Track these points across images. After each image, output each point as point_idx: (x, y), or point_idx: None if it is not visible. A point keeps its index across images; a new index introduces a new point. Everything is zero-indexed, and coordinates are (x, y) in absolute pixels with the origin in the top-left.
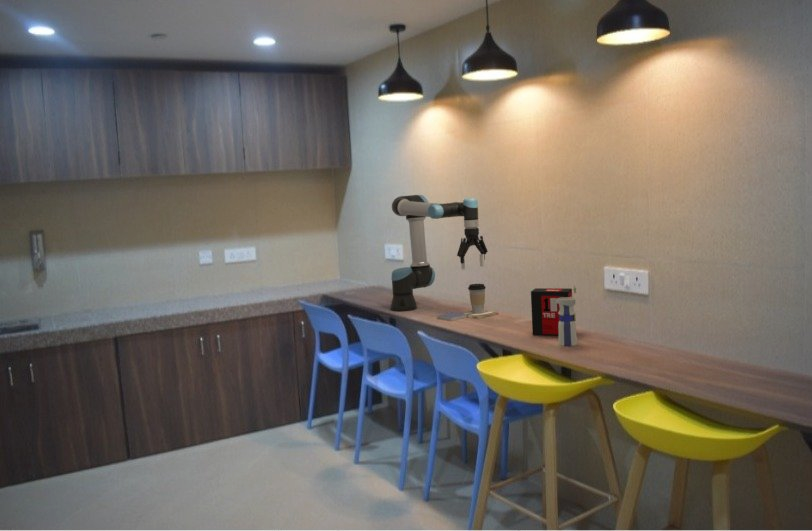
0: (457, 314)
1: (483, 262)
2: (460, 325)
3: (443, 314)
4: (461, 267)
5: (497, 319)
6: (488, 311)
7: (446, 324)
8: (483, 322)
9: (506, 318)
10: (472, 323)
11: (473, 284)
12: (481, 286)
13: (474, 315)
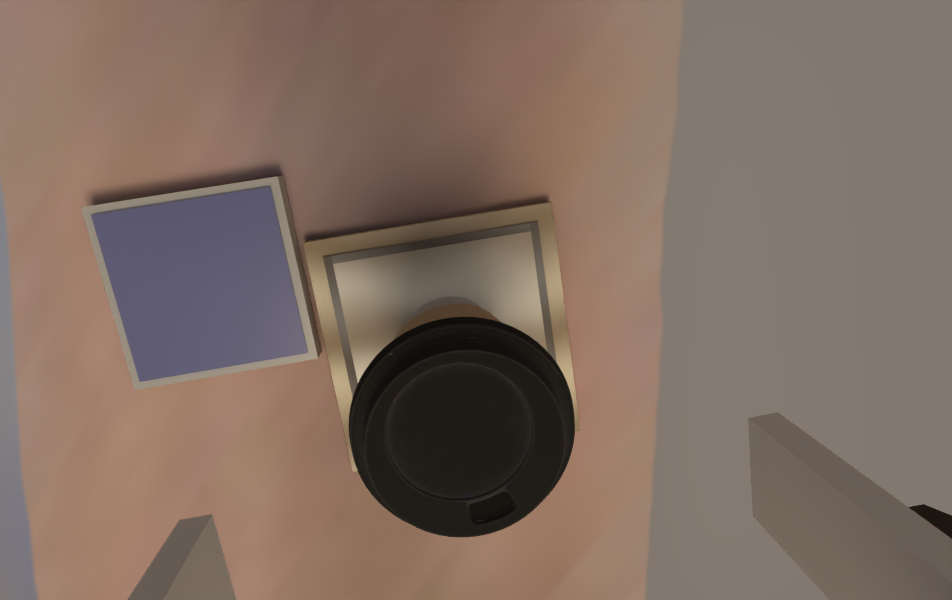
0: (251, 309)
1: (806, 572)
2: (119, 562)
3: (152, 212)
4: (162, 547)
5: (446, 570)
6: None
7: (48, 462)
8: (309, 586)
9: (512, 584)
10: (228, 563)
11: (473, 364)
12: (469, 532)
13: None
